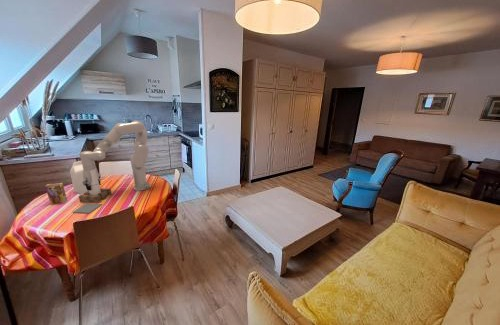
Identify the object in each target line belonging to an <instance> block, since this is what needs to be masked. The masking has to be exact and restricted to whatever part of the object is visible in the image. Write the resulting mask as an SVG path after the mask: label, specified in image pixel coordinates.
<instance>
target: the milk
mask: <svg viewBox="0 0 500 325" xmlns="http://www.w3.org/2000/svg"><path fill="white" fill-rule="evenodd" d="M69 173H70V177H71V182H72V188H73V191H74V192H75V193H77V194H79V195H84V193H86V192H87V191H89V190H87V189H86V186H85V185H83V183H82V181H83V180H84V179H83V166H82V162H81V160H78V161H74V162H73V163H72V166H71V168H70V170H69ZM85 183H86V182H85Z"/></svg>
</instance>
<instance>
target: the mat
mask: <svg viewBox="0 0 500 325" xmlns="http://www.w3.org/2000/svg"><path fill="white" fill-rule="evenodd" d="M101 206H103V204H102V203H89V202H85V204H83V205H81V206H80V207H78V208H77V209H75V210H73V211H72V214H87V215H88V214H91V213H93V212H94V211H96V210H97V209H98V208H100V207H101Z"/></svg>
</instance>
